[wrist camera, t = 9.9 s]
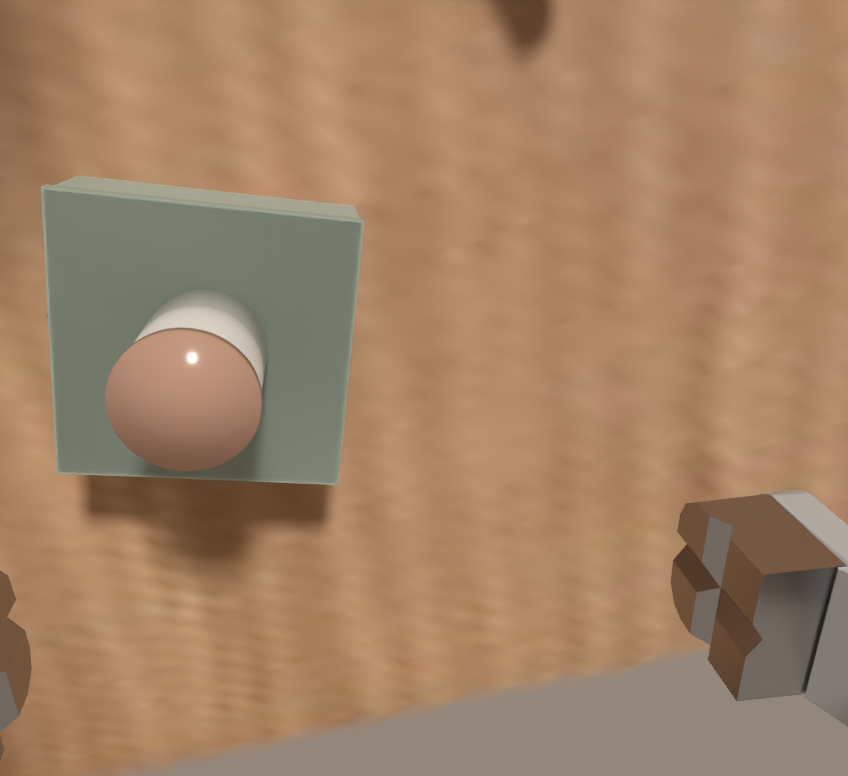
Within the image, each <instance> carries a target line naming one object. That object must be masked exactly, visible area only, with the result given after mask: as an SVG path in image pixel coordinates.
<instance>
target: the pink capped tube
mask: <svg viewBox="0 0 848 776" xmlns="http://www.w3.org/2000/svg"><path fill="white" fill-rule="evenodd" d="M267 355H268V343H267V337H266V334H265V331H264V328H263V326H262V324H261V322H260V321H259V319H258V317H257V316H256V315H255V314H254V312H253V311H252V310H251V309H250V308H249V307H248V306H246V305H245V304H244V303H243V302H241V301H240V300H238V299H236V298H235V297H233V296H230V295H228V294H226V293H222V292H219V291H214V290H202V289H201V290H191V291H187V292H183V293H180V294H178V295H176V296H174V297H172V298H170V299H168V300H167V301H166V302H164V303H163V304H162V305H161V306H160V307H159V308H158V309H157V310H156V311H155V313H154V314H153V315H152V317H151V318H150V320H149V321H148V323H147V324H146V326H145V327H144V329H143V330H142V331H141V333H140V334H139V336H138V337H137V339H136V340H135V342H134V343H133V344H132V345H131V346H130V347H129V348H128V349H127V350H126V351H125V352H124V353H123V354H122V356H121V357H120V358H119V360H118V361H117V362H116V364H115V366H114V367H113V369H112V371H111V373H110V375H109V378H108V381H107V385H106V390H105V406H106V411H107V416H108V418H109V421H110V424H111V426H112V428H113V430H114V431H115V433H116V435H117V436H118V437H119V439H120V440H121V441H122V442H123V443H124V444H125V446H126V447H127V448H128V449H130V450H131V451H132V452H133V453H134V454H136V455H137V456H139V457H140V458H142V459H144V460H145V461H147V462H149V463H152V464H154V465H157V466H159V467H162V468H166V469H171V470H177V471H198V470H205V469H209V468H213V467H215V466H218V465H221V464H223V463H225V462H227V461H229V460H230V459H232V458H233V457H235V456H236V455H237V454H239V453H240V452H241V451H242V450H243V449H244V448H245V447H246V446H247V445H248V443H249V442H250V441H251V439H252V438H253V436H254V434H255V432H256V430H257V427H258V424H259V421H260V416H261V409H262V386H263V380H264V374H265V368H266V362H267Z"/></svg>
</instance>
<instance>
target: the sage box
mask: <svg viewBox="0 0 848 776" xmlns="http://www.w3.org/2000/svg"><path fill="white" fill-rule="evenodd" d="M41 198H42V216H43V234H44V253H45V271H46V289H47V307H48V325H49V344H50V362H51V380H52V398H53V417H54V435H55V453H56V471H57V473H58V474H82V475H106V476H131V477H155V478H180V479H204V480H228V481H253V482H277V483H301V484H326V485H338V481H339V471H340V461H341V451H342V440H343V430H344V420H345V410H346V400H347V390H348V379H349V369H350V359H351V349H352V339H353V329H354V318H355V308H356V298H357V288H358V278H359V268H360V257H361V247H362V237H363V227H364V219H363V218H359V216H358V213H357V211H356V208H355V206H351V205H342V204H332V203H323V202H314V201H305V200H296V199H287V198H278V197H269V196H259V195H250V194H241V193H232V192H223V191H214V190H205V189H195V188H186V187H177V186H168V185H159V184H150V183H141V182H132V181H122V180H113V179H104V178H95V177H86V176H76V177H74V178H71V179H69V180H66V181H64V182H61V183H59V184H56V185H47V184H46V185H43V186H41ZM201 289H202V290H214V291H219V292H222V293H226V294H228V295H230V296H233V297H235V298H236V299H238V300H240V301H241V302H243V303H244V304H245V305H246V306H248V307H249V308H250V309H251V310H252V311H253V312H254V314H255V315H256V316H257V317H258V319H259V321H260V322H261V324H262V326H263V328H264V331H265V334H266V337H267V343H268V355H267V362H266V368H265V374H264V380H263V386H262V409H261V416H260V421H259V424H258V427H257V430H256V432H255V434H254V436H253V438H252V439H251V441H250V442H249V443H248V445H247V446H246V447H245V448H244V449H243V450H242V451H241V452H240V453H239V454H237V455H236V456H235V457H233V458H232V459H230V460H229V461H227V462H225V463H223V464H221V465H218V466H215V467H213V468H209V469H205V470H198V471H177V470H171V469H166V468H162V467H159V466H157V465H154V464H152V463H149V462H147V461H145V460H144V459H142V458H140V457H139V456H137V455H136V454H134V453H133V452H132V451H131V450H130V449H128V448H127V447H126V446H125V444H124V443H123V442H122V441H121V440H120V439H119V437H118V436H117V435H116V433H115V431H114V430H113V428H112V426H111V424H110V421H109V418H108V416H107V411H106V406H105V390H106V385H107V381H108V378H109V375H110V373H111V371H112V369H113V367H114V366H115V364H116V362H117V361H118V360H119V358H120V357H121V356H122V354H123V353H124V352H125V351H126V350H127V349H128V348H129V347H130V346H131V345H132V344H133V343H134V342H135V340H136V339H137V337H138V336H139V334H140V333H141V331H142V330H143V329H144V327H145V326H146V324H147V323H148V321H149V320H150V318H151V317H152V315H153V314H154V313H155V311H156V310H157V309H158V308H159V307H160V306H161V305H162V304H163V303H164V302H166V301H167V300H168V299H170V298H172V297H174V296H176V295H178V294H180V293H183V292H187V291H191V290H201Z"/></svg>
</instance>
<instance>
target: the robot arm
mask: <svg viewBox="0 0 848 776" xmlns="http://www.w3.org/2000/svg"><path fill="white" fill-rule="evenodd" d="M678 533H679V534H680V536H681V537H682V539H683V540H684V541H685V543H686V544H687V545H686V546H685V547H684V548H683V549H682V550H681V552H680V553H679V554H678V555H677V556H676V557H675V559H674V560H673V566H672V575H671V587H672V593H673V599H674V604H675V607H676V609H677V612H678V614H679V616H680V619H681V620H682V622H683V624H684V625H685V627H686V628H687V630H688V631H689V633H690V634H692V635H694V636H695V637H697V638H699V639H701V640H703V641H704V642H706V643H708V644H710V651H709V656H708V661H709V662H710V663H711V665H712V666H713V667H714V669H715V671H716V672H717V673H718V675H719V676H720V678H721V679H722V681H723V682H724V684H725V685H726V686H727V688H728V689H729V691H730V692H731V694H732V695H733V696H734V698H735V699H736V701H744V700H752V699H762V698H772V697H781V696H791V695H800V694H805V698H806V699H808V700H809V701H811V702H812V703H813V704H815V705H816V706H818V707H820V708H821V709H822V710H824V711H825V712H827V713H829V714H830V715H831V716H833V717H834V718H836V719H837V720H839V721H840V722H842V723H843V724H845V725H846V726H848V525H846V524H845V523H844V522H843V521H842V520H840V519H839V518H838V517H837V516H836V515H834V514H833V513H832V512H831V511H830V510H828V509H827V508H826V507H825V506H824V505H822V504H821V503H820V502H819V501H818V500H816V499H815V498H814V497H813V496H812V495H810V494H809V493H807V492H804V491H801V490H798V489H795V490H787V491H780V492H772V493H764V494H760V495H755V496H746V497H737V498H728V499H720V500H711V501H702V502H693V503H686V504H685V506H684V508H683V510H682V512H681V514H680V519H679V525H678ZM15 601H16V598H15V595H14V592H13V589H12V586H11V583H10V580H9V577H8V575H6V574H5V573H3V572H2V571H0V731H2V730H3V729H4V728H5V727H6V726H8V725H9V724H10V723H11V722H12V721H13V720H15V719H16V718H17V717H18V716H19V715H20V712H21V710H22V707H23V705H24V702H25V700H26V697H27V695H28V688H29V682H30V675H31V656H30V647H29V643H28V639H27V636H26V632H25V630H24V629H22V628H21V627H20V626H18V625H17V624H16V623H14V622H13V621H12V620H10V619H9V618H8V617H7V616H8V614H9V612H10V610H11V608H12V606H13V604H14V602H15ZM3 752H4V747H3V744H2V741H1V738H0V759H1V756H2V754H3Z"/></svg>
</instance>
